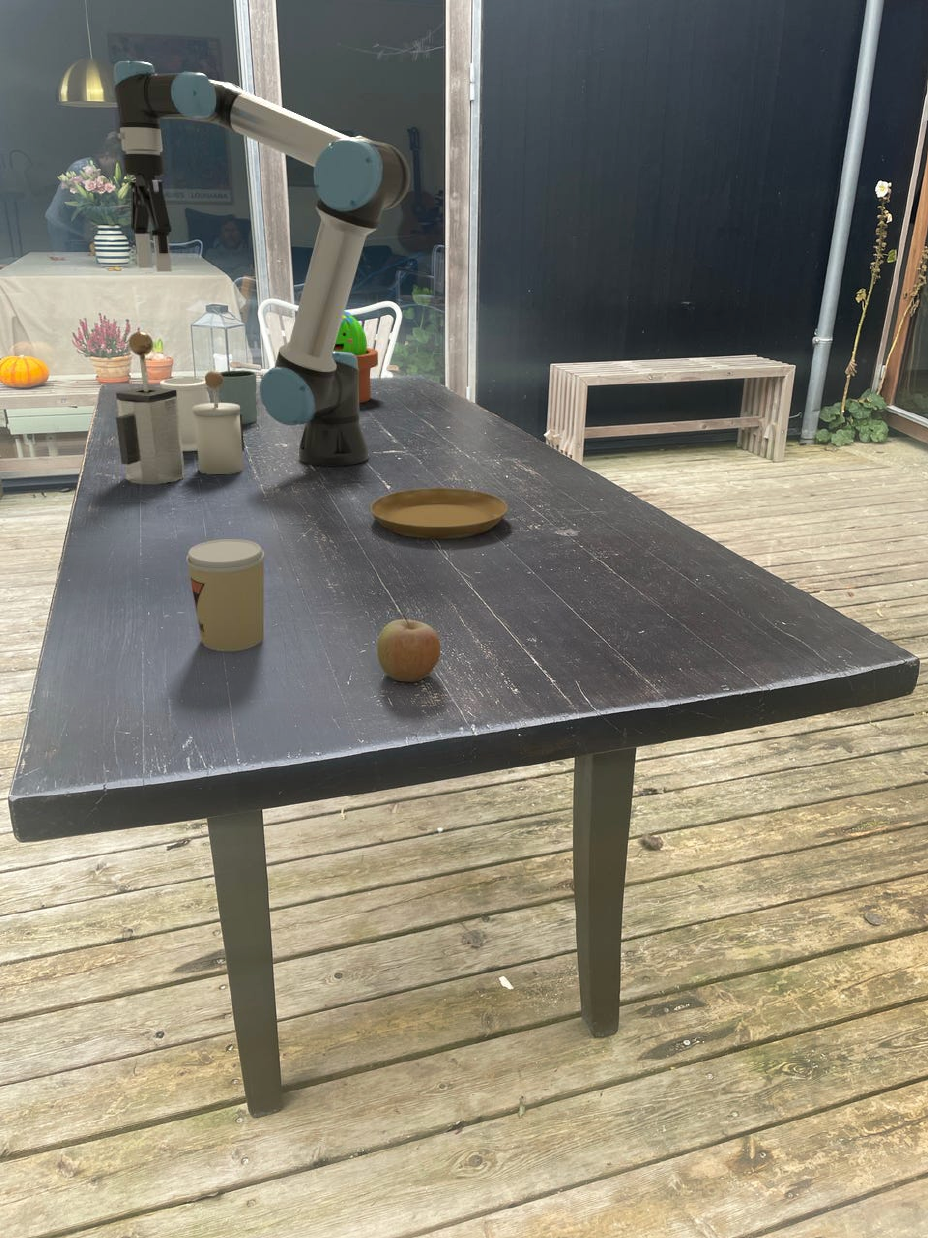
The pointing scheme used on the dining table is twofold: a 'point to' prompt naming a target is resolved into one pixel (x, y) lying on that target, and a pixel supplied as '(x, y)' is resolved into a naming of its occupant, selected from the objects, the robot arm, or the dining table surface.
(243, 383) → the teal pot
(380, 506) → the plant saucer
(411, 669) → the fruit
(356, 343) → the potted cactus
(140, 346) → the plunger
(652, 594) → the dining table surface
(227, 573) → the coffee cup
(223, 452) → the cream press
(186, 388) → the jar
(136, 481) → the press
